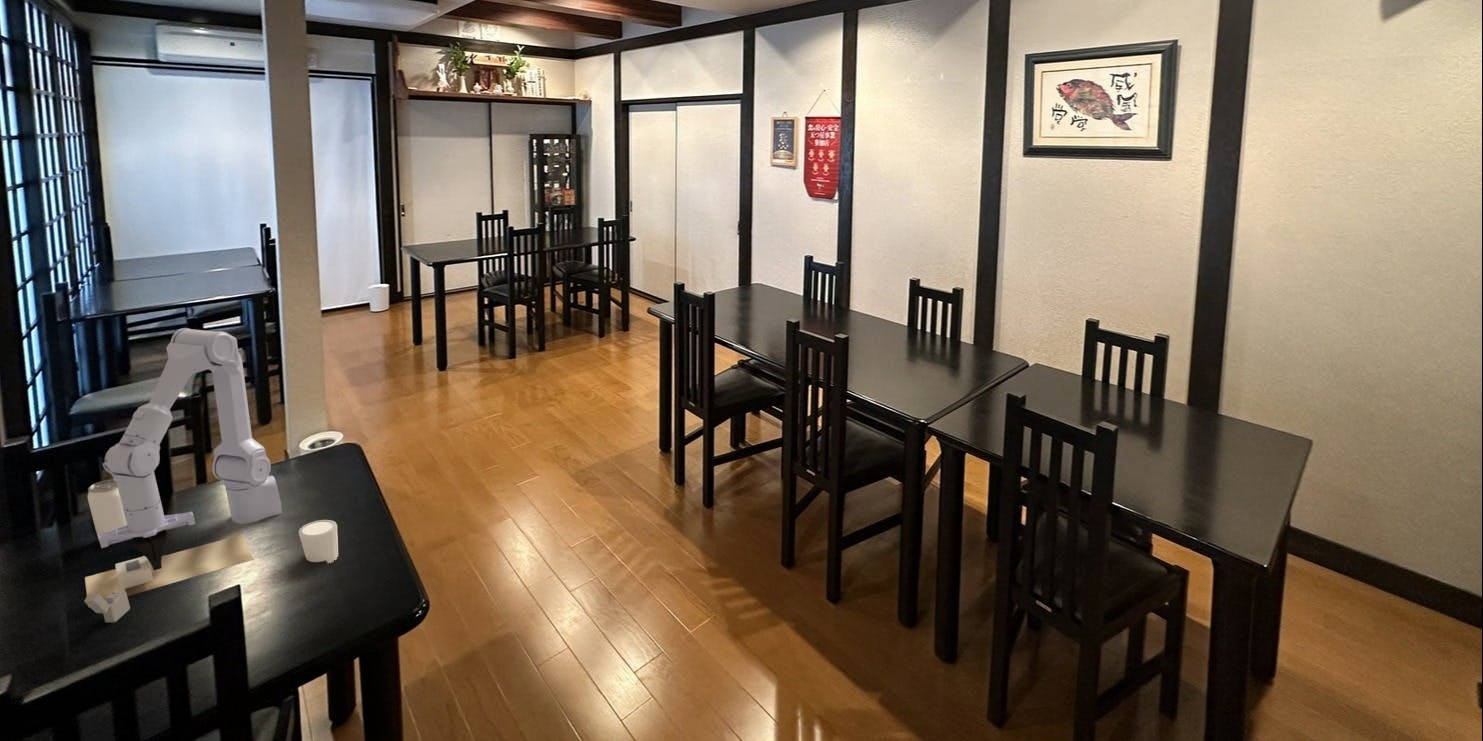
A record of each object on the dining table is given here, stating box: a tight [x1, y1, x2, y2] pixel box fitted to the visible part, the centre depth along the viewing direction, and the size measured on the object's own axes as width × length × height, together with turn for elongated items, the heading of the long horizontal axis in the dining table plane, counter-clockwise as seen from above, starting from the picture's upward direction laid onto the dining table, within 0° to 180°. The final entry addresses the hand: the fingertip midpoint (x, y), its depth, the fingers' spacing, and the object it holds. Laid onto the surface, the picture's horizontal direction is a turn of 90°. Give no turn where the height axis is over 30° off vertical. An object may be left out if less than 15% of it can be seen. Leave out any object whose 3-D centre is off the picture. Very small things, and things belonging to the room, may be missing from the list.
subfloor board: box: [84, 534, 255, 608], centre depth 157 cm, size 26×12×1 cm, turn 130°
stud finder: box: [114, 555, 154, 590], centre depth 153 cm, size 5×6×3 cm
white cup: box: [298, 519, 339, 565], centre depth 162 cm, size 7×7×7 cm
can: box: [87, 479, 127, 543], centre depth 167 cm, size 6×6×12 cm
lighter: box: [83, 591, 131, 623], centre depth 140 cm, size 7×2×8 cm, turn 3°
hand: (157, 567), depth 155 cm, fingers closed
